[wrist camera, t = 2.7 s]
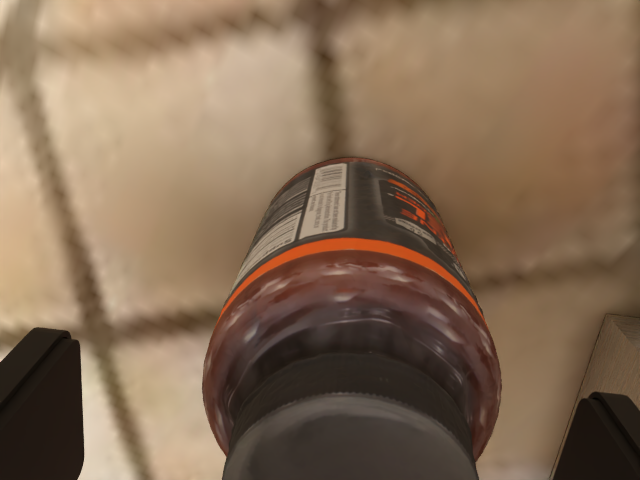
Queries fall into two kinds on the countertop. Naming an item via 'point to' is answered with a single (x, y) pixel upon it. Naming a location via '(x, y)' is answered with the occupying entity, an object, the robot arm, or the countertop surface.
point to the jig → (612, 364)
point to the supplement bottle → (351, 339)
